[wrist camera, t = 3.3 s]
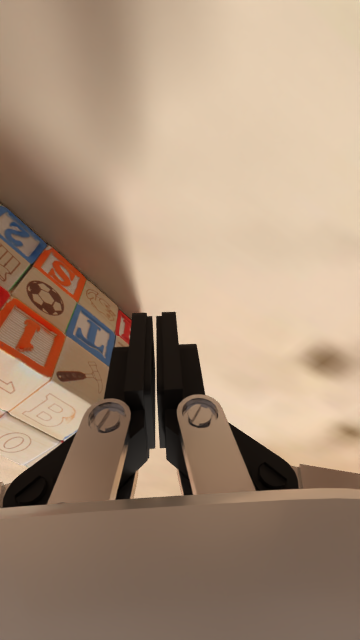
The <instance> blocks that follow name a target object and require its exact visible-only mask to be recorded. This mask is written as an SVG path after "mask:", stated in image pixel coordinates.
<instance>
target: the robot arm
mask: <svg viewBox="0 0 360 640" xmlns="http://www.w3.org/2000/svg"><path fill="white" fill-rule="evenodd" d="M156 328H157V403H158V421H159V439H160V448H166V459H167V460H168V461H169V462H170V463H171V464H172V465H174V466H175V467H176V468H177V475H178V480H179V484H180V489H181V494H182V496H168V497H153V498H138V499H134V494H135V489H136V484H137V479H138V469H139V468H140V467H141V466H142V465H143V464H144V463H145V462H146V461H147V458H149V449H154V448H155V358H154V340H153V322H152V316H147V313H133V314H132V322H131V331H130V340H129V346H128V347H113V349H112V354H111V360H110V366H109V371H108V377H107V383H106V388H105V394H104V400H100V401H98V402H96V403H94V404H92V405H91V406H90V407H89V408H88V409H87V411H86V412H85V414H84V416H83V418H82V420H81V423H80V425H79V428H78V430H77V432H76V433H75V434H73V435H72V436H71V437H69V438H68V439H67V440H65V441H64V442H63V443H61V444H60V445H59V446H57V447H56V448H55V449H53V450H52V451H51V452H49V453H48V454H47V455H46V456H44V457H43V458H42V459H40V460H39V461H38V462H36V463H35V464H34V465H32V466H31V467H30V468H28V469H27V470H26V471H24V472H23V473H22V474H20V475H19V476H18V477H17V478H16V479H15V480H14V481H13V482H12V483H9V484H6V485H4V484H3V482H0V640H360V474H358V473H352V472H345V471H339V470H333V469H327V468H321V467H315V466H309V465H303V464H300V465H299V467H295V466H290V465H289V464H288V463H287V462H286V461H285V460H284V459H282V458H281V457H279V456H278V455H276V454H275V453H273V452H272V451H270V450H269V449H267V448H266V447H264V446H263V445H261V444H260V443H258V442H257V441H255V440H254V439H252V438H251V437H249V436H248V435H246V434H245V433H243V432H242V431H240V430H239V429H237V428H236V427H234V426H233V425H231V424H230V423H228V421H227V419H226V416H225V414H224V411H223V409H222V407H221V405H220V404H219V403H218V402H217V401H216V400H215V399H214V398H212V397H209V396H207V395H205V391H204V385H203V379H202V374H201V368H200V362H199V356H198V350H197V345H196V344H181V345H179V343H178V333H177V322H176V312H162V316H156Z"/></svg>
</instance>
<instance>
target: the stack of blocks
mask: <svg viewBox="0 0 360 640" xmlns="http://www.w3.org/2000/svg"><path fill="white" fill-rule="evenodd" d="M131 322H132V320H131V319H130V318H128V317H127V316H126V315H125V314H124V313H123V312H122V311H120V310H118V307H117V305H116V304H114V303H113V302H112V301H111V300H110V299H109V298H108V297H107V296H106V295H104V294H103V293H102V292H101V291H100V290H99V289H98V288H97V287H95V286H94V285H93V284H92V283H91V282H90V281H88V280H86V278H85V277H84V276H83V275H82V274H81V273H80V272H79V271H78V270H77V269H76V268H75V267H73V266H72V265H71V264H70V263H69V262H68V261H67V260H66V259H65V258H64V257H62V256H61V255H60V254H59V253H58V252H57V251H56V250H55V249H54V248H52V247H51V246H49V245H47V244H46V243H45V242H44V241H43V240H42V239H41V238H40V237H39V236H37V235H36V234H35V233H34V232H33V231H32V230H31V229H30V228H28V227H27V226H26V225H25V224H24V223H23V222H22V221H21V220H20V219H18V218H17V217H16V216H15V215H14V214H13V213H12V212H11V211H10V210H8V209H7V208H6V207H4V206H3V205H1V203H0V456H1V457H4V458H6V459H8V460H10V461H12V462H15V463H17V464H19V465H25V466H27V467H28V468H30V467H31V466H32V465H34V464H35V463H36V462H38V461H39V460H40V459H42V458H43V457H44V456H46V455H47V454H48V453H49V452H51V451H52V450H53V449H55V448H56V447H57V446H59V445H60V444H61V443H63V442H64V441H65V440H67V439H68V438H69V437H71V436H72V435H73V434H75V433H76V432H77V430H78V428H79V425H80V423H81V420H82V418H83V416H84V414H85V412H86V411H87V409H88V408H89V407H90V406H91V405H92V404H94V403H96V402H98V401H100V400H104V394H105V388H106V383H107V377H108V371H109V366H110V360H111V354H112V349H113V347H128V346H129V340H130V331H131Z"/></svg>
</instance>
